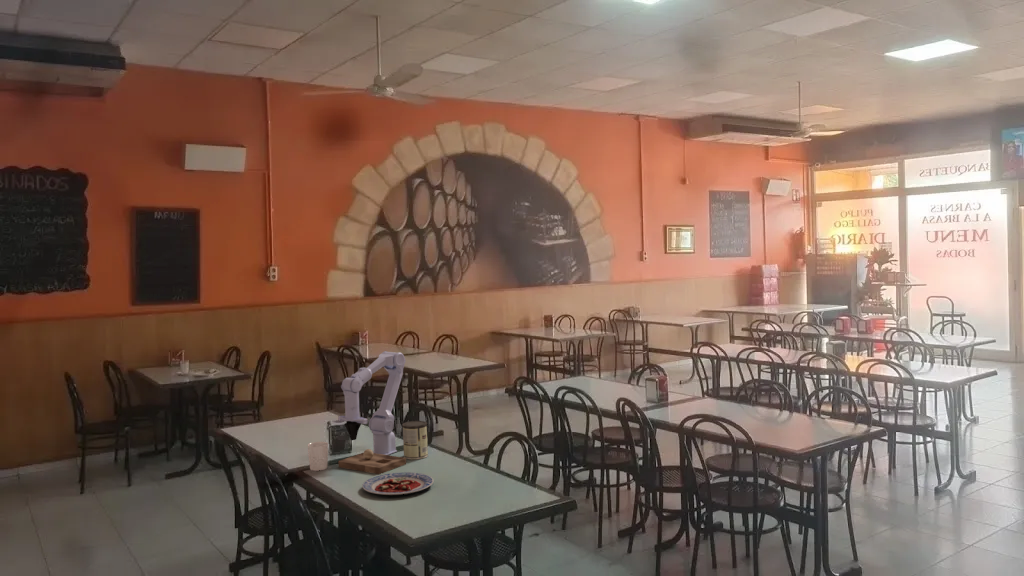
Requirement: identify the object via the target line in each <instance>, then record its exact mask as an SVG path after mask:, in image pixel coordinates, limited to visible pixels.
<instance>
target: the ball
mask: <svg viewBox="0 0 1024 576" xmlns="http://www.w3.org/2000/svg"><path fill="white" fill-rule="evenodd" d="M373 452H374V450H372V449H370V448H366V449H365V450H363V452H362V453H363V455H364V457H365V458H366V459H371V458H372V457H373Z"/></svg>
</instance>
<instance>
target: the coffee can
mask: <svg viewBox="0 0 1024 576" xmlns="http://www.w3.org/2000/svg"><path fill="white" fill-rule="evenodd" d="M427 425H428V422H427V421H424V420H412V421H405V422H403V423H402V440H403V442H402V444H403V445H402V446H403V458H406V460H413V461H414V460H415V461H416V460H421V459H426V458H427V457H428V456H429V452H428V449H429V448H428V446H429V445H428V426H427Z"/></svg>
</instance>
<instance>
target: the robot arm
mask: <svg viewBox="0 0 1024 576" xmlns="http://www.w3.org/2000/svg"><path fill="white" fill-rule="evenodd" d="M405 364H406V357H405V355H404V354H403V353H402V352H400V351H399V352H394V351H386V350H385V351H382V352H381V353H380V354H379V355H378V357H377V358H376V359H375V360H374V361H373V362H372V363H370V364H369V365H368V366H367V367H359V369H358V370H357V371H356V372H355V373H352V374H351V376H350V377H345V378H344V379H343V380H342V382H341V385H340V388H341V390H342V391H343V396H344V409H345V411H344V413H345V415H339V416H338V417H337V418H338V422H345V423H344V424H343V425H344V427H345V428H346V431H347V432H348V436H349V438H350V441H356V440H357V438H358V434H359V433H358V432H359V429H360V428H361V426H362V425H367V424H368V428H369V430H370V431H371V433H372V440H373V441H372V442H373V443H372V444H373V453H377V454H383V455H391V454H394V453H397V452H398V450H397V444H396V436H395V433H394V432H393V429H394V428H395V427H394V426H395V424H394V423H395V422H394V421H395V416H394V415H393V414H392V411H393V408H394V405H395V402H396V398H397V394H398V391H399V388H400V385H401V381H402V378H403V374H404V367H405ZM382 368H384V369H385V370H386V372H387V373H388V378H387V382H386V384H385V388H384V392H383V395H382V398H381V402H380V405H379V408H378V409H377V410H376V411H375V412H373V414H372V417H371V418H370V419H369V421H368V418H365V417H362V416H360V391H361V390H362V387H363V386H364V385H365V384H367V382H368V381H369V380H371V379H372V376H373V374H374V373H376V372H377V371H379V370H380V369H382Z"/></svg>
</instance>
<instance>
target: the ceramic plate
mask: <svg viewBox="0 0 1024 576" xmlns="http://www.w3.org/2000/svg"><path fill="white" fill-rule="evenodd" d="M434 482H435V481H434V478H433V477H432V476H430V475H428V474H425V473H420V472H411V471H410V472H409V471H408V472H405V471H404V472H392V473H386V474H385V473H383V474H379V475H375V476H373V477H370V478H369V479H366V480H365V481H364V482H363V483H362V489H363V490H364V491H366V492H368V493H371V494H375V495H384V496H403V494H404V495H409V494H413V493H417V492H420V491H424V490H425V489H427V488H429V487H431V486H432V485H433V483H434Z"/></svg>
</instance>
